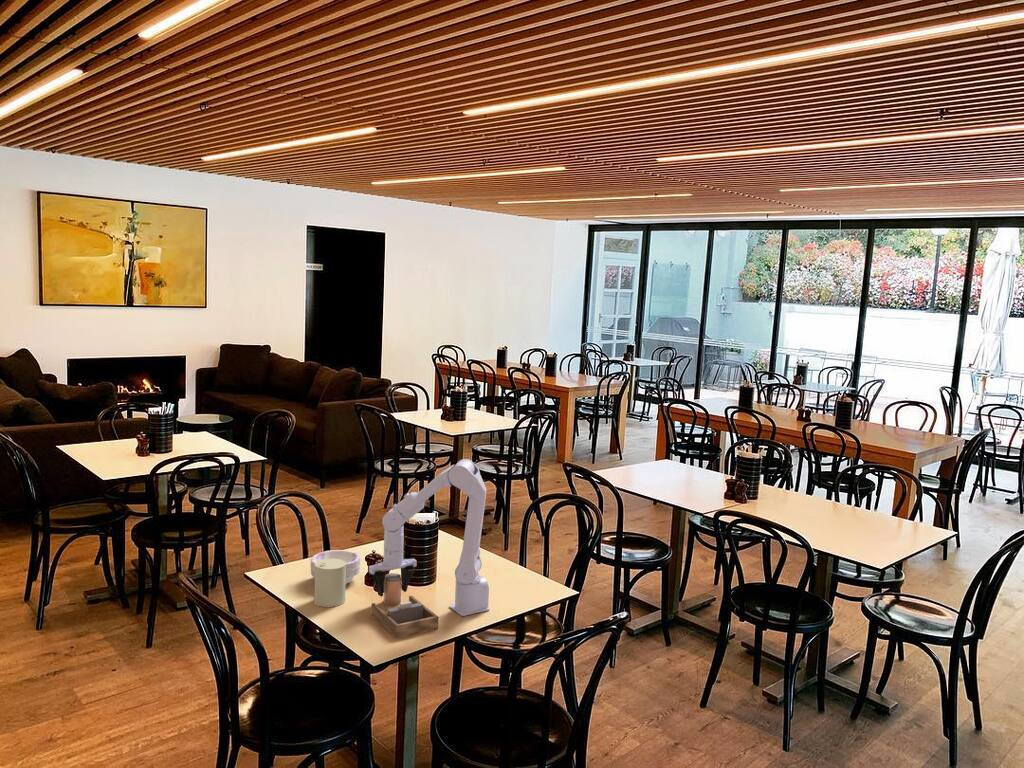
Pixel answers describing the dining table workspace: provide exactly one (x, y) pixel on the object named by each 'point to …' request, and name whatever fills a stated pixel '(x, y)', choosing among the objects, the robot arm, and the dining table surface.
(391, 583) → the jar
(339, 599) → the can
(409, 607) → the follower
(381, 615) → the brown wooden tray
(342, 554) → the paper bowls
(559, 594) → the dining table surface
